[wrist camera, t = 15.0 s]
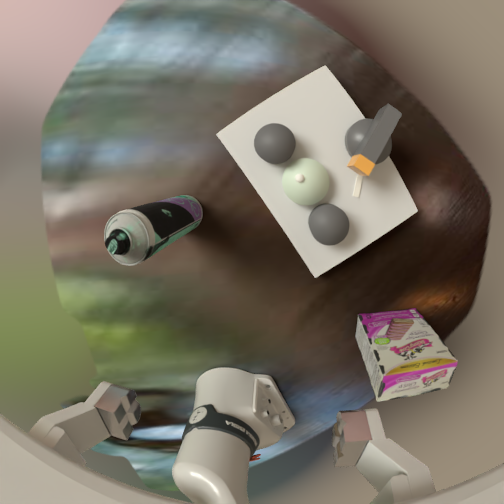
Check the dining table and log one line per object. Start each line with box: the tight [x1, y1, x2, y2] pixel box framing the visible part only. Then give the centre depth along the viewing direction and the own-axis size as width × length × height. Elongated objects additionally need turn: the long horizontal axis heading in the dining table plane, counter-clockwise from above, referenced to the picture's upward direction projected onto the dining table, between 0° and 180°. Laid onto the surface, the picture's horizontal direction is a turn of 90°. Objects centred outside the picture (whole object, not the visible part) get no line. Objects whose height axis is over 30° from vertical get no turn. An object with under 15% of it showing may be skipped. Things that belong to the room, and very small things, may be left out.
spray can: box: [104, 195, 203, 266], centre depth 32 cm, size 6×6×20 cm
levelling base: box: [216, 66, 418, 278], centre depth 35 cm, size 24×18×6 cm
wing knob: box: [345, 104, 402, 176], centre depth 30 cm, size 9×6×6 cm, turn 151°
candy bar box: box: [355, 308, 458, 402], centre depth 35 cm, size 11×5×16 cm, turn 95°
